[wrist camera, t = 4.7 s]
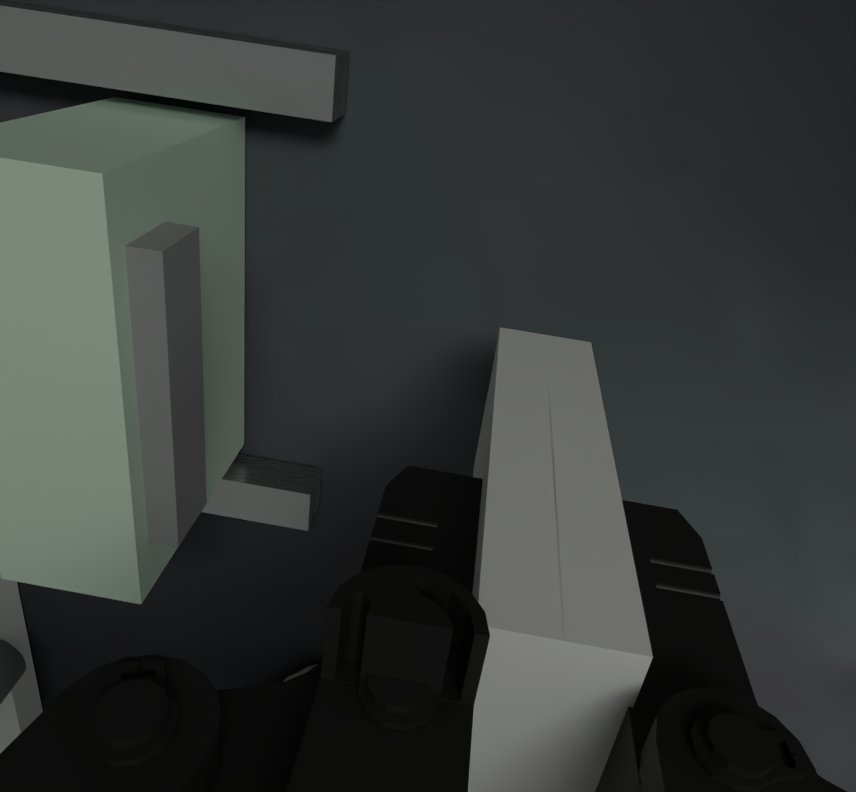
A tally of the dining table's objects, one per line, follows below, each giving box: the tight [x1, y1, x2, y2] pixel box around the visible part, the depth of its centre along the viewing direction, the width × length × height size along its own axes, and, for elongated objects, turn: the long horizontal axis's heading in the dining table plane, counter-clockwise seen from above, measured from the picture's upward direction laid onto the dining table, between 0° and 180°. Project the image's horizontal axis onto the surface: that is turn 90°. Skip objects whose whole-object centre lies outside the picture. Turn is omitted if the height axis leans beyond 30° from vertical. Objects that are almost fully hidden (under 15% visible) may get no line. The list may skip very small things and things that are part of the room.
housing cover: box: [0, 97, 245, 604], centre depth 12 cm, size 7×3×5 cm, turn 173°
